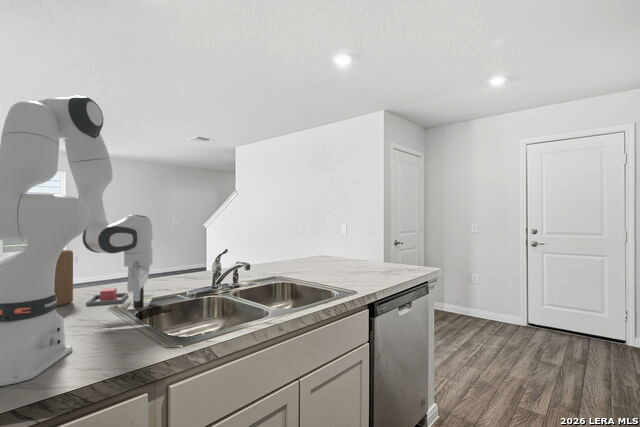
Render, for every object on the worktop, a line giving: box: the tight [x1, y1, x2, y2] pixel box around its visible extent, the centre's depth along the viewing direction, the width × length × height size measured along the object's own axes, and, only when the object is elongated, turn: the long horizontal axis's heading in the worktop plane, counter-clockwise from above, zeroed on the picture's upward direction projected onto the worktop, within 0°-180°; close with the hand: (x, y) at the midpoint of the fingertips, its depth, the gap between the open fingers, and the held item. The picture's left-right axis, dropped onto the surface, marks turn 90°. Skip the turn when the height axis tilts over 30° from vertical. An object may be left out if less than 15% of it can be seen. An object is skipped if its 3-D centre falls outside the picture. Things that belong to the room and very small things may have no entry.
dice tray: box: [85, 292, 129, 307], centre depth 125 cm, size 11×11×2 cm
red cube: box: [99, 287, 118, 301], centre depth 125 cm, size 4×4×4 cm
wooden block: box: [54, 249, 74, 308], centre depth 121 cm, size 10×10×20 cm
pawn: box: [132, 287, 145, 309], centre depth 117 cm, size 3×3×8 cm
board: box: [126, 293, 155, 310], centre depth 125 cm, size 20×7×1 cm, turn 20°
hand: (138, 299), depth 117 cm, fingers closed on pawn, 3 cm apart
